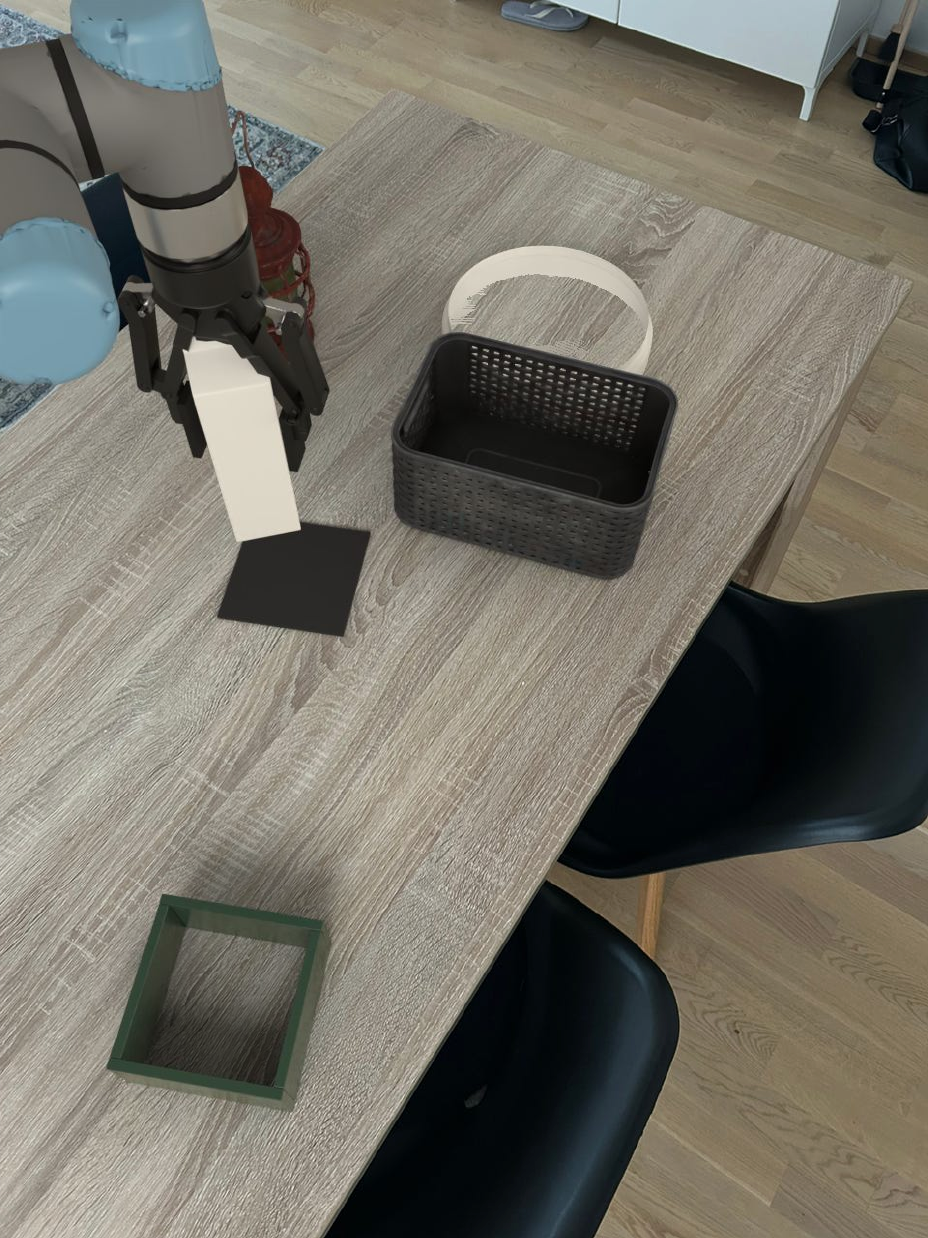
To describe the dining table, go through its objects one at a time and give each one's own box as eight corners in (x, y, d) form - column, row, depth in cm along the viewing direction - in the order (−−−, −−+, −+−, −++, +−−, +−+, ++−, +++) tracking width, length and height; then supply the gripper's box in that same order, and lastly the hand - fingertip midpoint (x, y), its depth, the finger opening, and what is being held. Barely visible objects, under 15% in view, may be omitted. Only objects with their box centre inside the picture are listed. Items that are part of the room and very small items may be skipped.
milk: (301, 530, 96) (266, 353, 77) (235, 543, 95) (183, 367, 76) (290, 480, 99) (254, 297, 80) (226, 492, 98) (174, 310, 79)
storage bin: (663, 462, 125) (685, 382, 114) (627, 589, 116) (647, 515, 104) (438, 407, 130) (437, 324, 118) (385, 525, 120) (379, 447, 109)
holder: (128, 1082, 88) (105, 1069, 82) (179, 916, 96) (162, 893, 90) (292, 1112, 87) (281, 1101, 81) (331, 942, 95) (323, 920, 89)
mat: (217, 618, 113) (216, 616, 113) (252, 517, 120) (251, 514, 120) (343, 637, 112) (343, 635, 112) (370, 533, 119) (370, 531, 119)
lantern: (238, 302, 139) (190, 86, 114) (328, 308, 139) (300, 93, 113) (218, 367, 133) (163, 153, 107) (312, 374, 132) (279, 162, 107)
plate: (423, 404, 130) (422, 372, 125) (461, 263, 144) (462, 229, 139) (638, 435, 128) (646, 403, 123) (656, 288, 142) (663, 255, 137)
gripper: (355, 212, 71) (376, 437, 91) (68, 177, 73) (149, 405, 92) (329, 285, 67) (356, 503, 87) (26, 246, 69) (119, 469, 89)
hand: (249, 452), depth 90 cm, fingers closed on milk, 8 cm apart
